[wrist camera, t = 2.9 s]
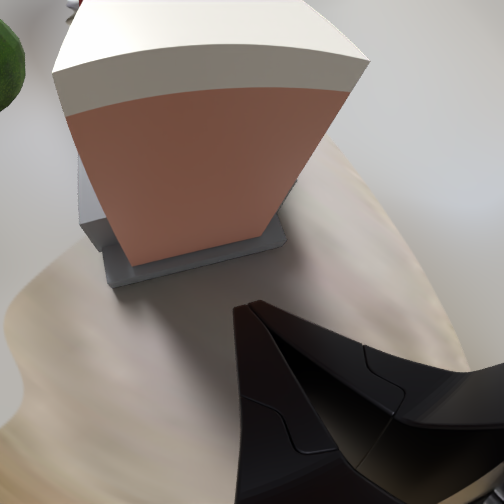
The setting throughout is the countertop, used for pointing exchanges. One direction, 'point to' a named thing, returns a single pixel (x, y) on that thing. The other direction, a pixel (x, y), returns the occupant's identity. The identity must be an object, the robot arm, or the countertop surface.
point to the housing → (125, 274)
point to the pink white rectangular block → (198, 112)
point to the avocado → (10, 65)
